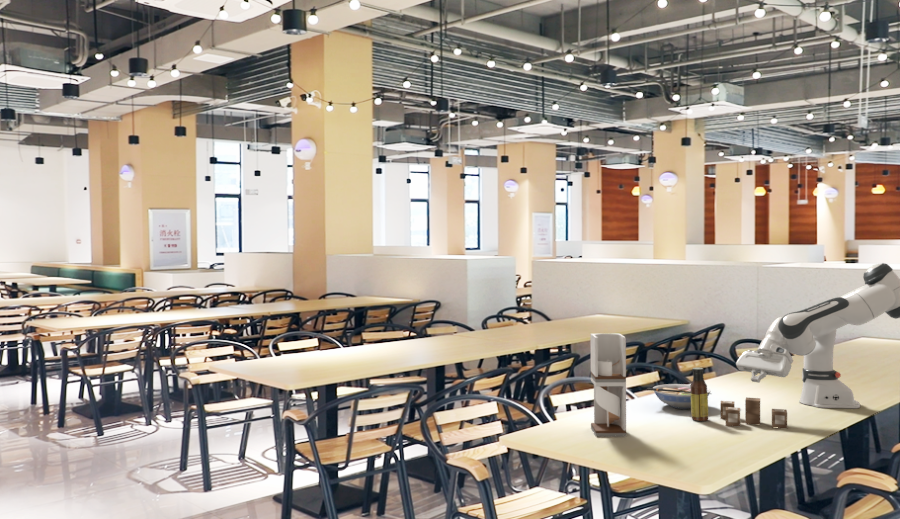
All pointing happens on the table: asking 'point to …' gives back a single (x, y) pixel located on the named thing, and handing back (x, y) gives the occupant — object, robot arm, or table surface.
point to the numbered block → (779, 418)
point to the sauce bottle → (699, 396)
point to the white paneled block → (723, 407)
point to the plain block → (752, 410)
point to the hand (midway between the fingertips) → (754, 381)
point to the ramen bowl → (675, 394)
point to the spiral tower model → (609, 383)
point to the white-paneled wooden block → (732, 416)
